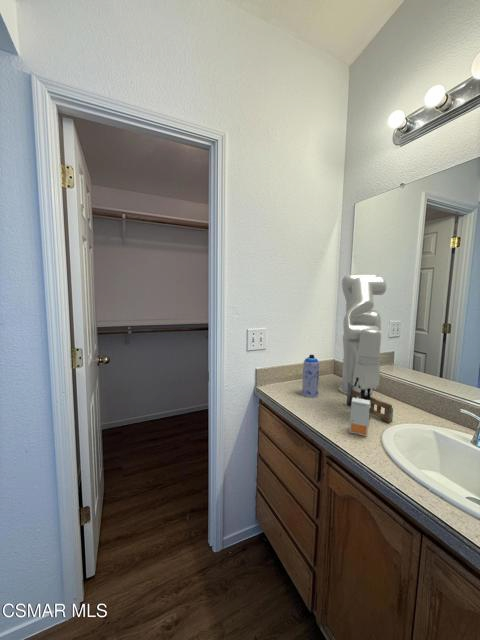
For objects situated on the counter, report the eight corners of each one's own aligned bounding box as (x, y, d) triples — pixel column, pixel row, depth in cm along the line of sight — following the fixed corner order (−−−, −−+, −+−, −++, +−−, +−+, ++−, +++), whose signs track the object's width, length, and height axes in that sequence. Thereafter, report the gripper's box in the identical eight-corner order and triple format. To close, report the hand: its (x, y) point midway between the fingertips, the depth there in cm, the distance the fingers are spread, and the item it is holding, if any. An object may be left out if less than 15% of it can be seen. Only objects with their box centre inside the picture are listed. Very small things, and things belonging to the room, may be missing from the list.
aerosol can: (318, 398, 131) (320, 357, 129) (302, 396, 133) (303, 356, 131) (317, 392, 139) (319, 353, 137) (301, 391, 140) (303, 352, 138)
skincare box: (349, 432, 99) (350, 400, 98) (350, 427, 103) (352, 396, 102) (367, 437, 96) (369, 404, 95) (368, 431, 100) (370, 400, 99)
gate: (351, 405, 122) (352, 390, 122) (353, 404, 123) (354, 389, 122) (388, 422, 106) (390, 405, 106) (390, 421, 107) (392, 404, 106)
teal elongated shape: (349, 403, 126) (350, 382, 125) (393, 420, 109) (395, 396, 108) (345, 404, 124) (346, 383, 123) (389, 422, 107) (391, 397, 106)
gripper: (374, 355, 114) (370, 397, 117) (346, 359, 108) (343, 403, 111) (390, 360, 108) (386, 404, 110) (361, 364, 102) (358, 411, 104)
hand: (365, 403), depth 111 cm, fingers closed
